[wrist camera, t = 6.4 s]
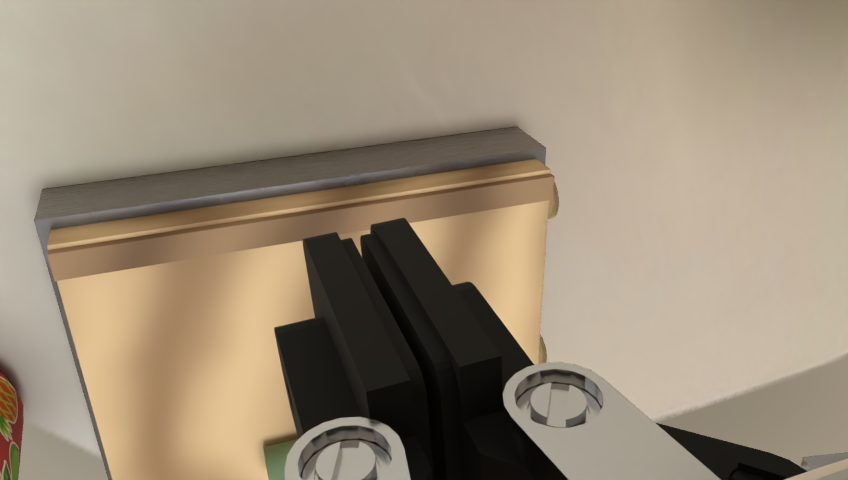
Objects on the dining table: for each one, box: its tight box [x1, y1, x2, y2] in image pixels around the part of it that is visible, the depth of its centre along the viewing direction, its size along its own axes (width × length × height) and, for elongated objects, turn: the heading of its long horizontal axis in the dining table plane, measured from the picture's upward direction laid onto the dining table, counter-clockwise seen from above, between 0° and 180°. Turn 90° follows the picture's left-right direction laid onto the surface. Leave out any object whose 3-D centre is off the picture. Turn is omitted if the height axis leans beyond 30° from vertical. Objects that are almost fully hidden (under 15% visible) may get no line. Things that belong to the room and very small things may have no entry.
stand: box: [34, 127, 559, 480], centre depth 39 cm, size 24×17×3 cm
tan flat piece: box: [47, 159, 554, 480], centre depth 36 cm, size 22×16×4 cm
